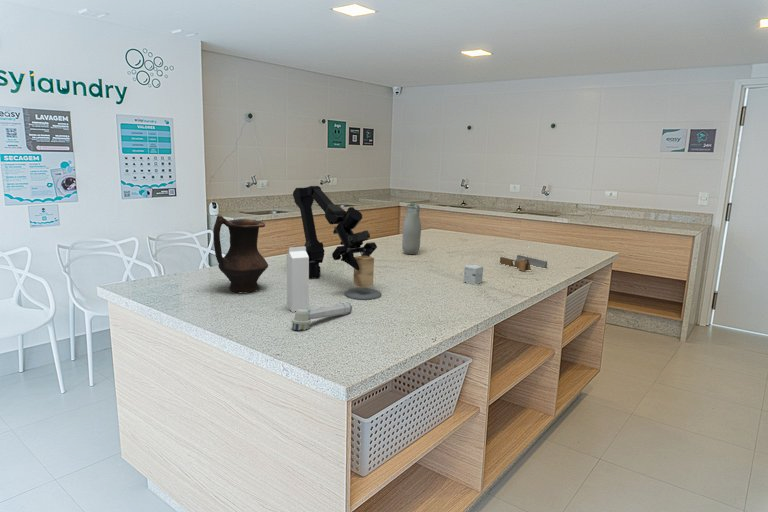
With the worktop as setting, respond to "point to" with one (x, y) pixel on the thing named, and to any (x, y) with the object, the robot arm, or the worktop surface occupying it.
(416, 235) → the grey bottle
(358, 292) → the mat
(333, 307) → the toothbrush head
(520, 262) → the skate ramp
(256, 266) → the jug
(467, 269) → the skincare box
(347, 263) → the robot arm
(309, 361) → the worktop surface
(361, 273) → the tan wooden block
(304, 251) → the milk
